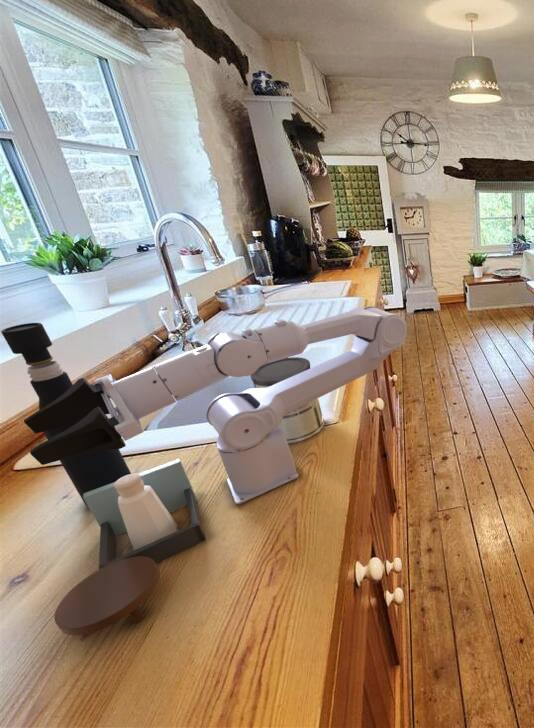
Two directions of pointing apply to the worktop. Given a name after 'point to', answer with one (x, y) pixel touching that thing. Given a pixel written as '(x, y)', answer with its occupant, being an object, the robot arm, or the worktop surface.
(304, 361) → the coffee can
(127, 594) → the stool
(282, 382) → the robot arm
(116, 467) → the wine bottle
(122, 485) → the salt shaker
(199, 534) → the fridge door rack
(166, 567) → the worktop surface
